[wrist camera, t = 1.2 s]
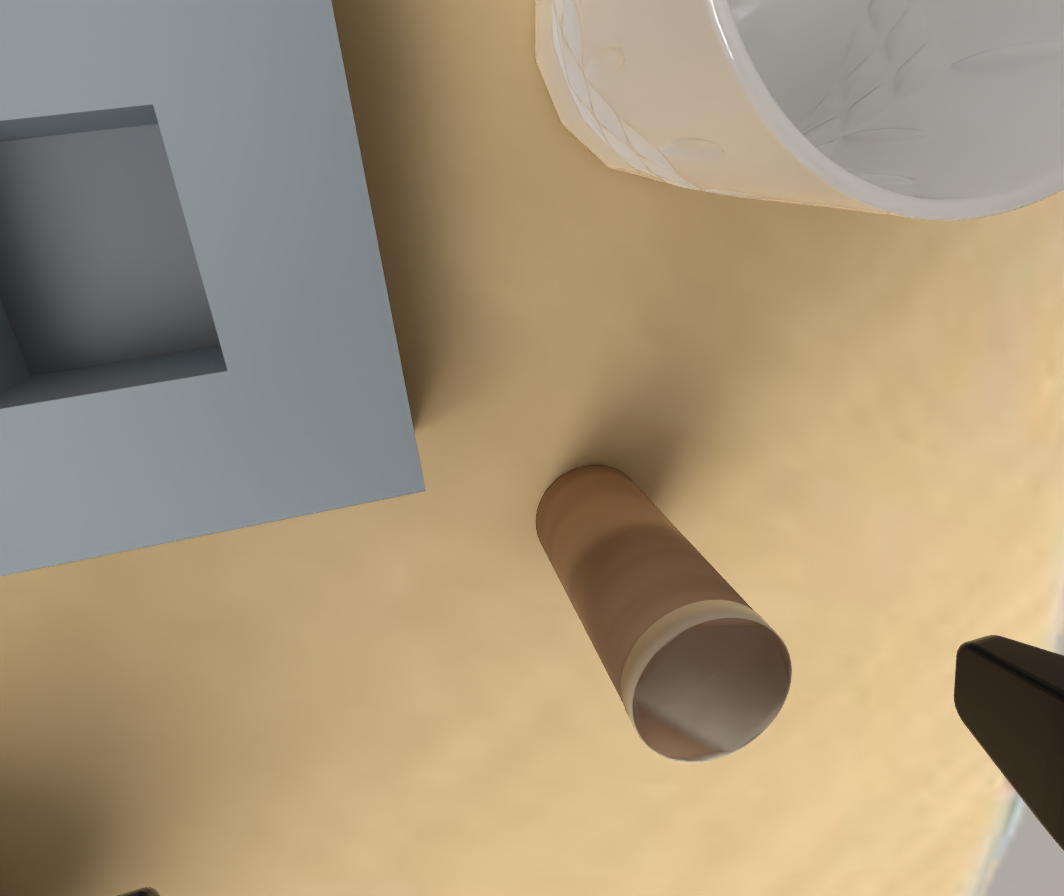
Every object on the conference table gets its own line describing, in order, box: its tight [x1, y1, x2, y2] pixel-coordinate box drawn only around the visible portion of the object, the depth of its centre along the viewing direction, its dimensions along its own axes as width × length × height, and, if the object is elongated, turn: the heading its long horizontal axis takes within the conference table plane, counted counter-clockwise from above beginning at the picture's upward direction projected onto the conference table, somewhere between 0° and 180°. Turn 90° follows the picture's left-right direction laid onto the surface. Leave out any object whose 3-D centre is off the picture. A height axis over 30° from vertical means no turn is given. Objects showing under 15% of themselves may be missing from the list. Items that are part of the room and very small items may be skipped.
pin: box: [536, 465, 792, 762], centre depth 17 cm, size 3×3×8 cm
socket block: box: [0, 0, 425, 576], centre depth 14 cm, size 11×11×4 cm
